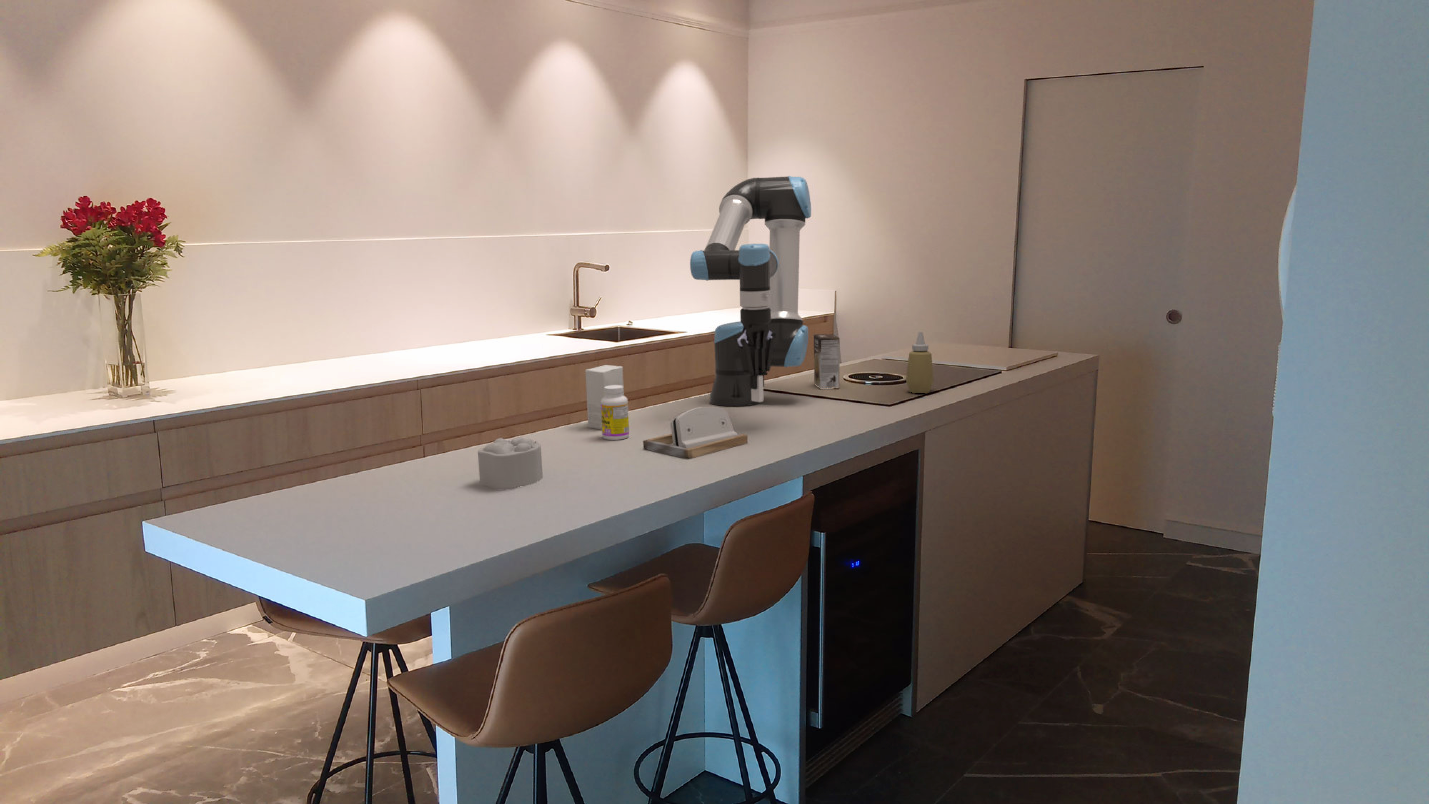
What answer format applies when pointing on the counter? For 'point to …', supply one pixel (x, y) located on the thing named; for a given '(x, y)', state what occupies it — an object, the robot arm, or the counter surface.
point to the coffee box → (826, 360)
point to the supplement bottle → (614, 413)
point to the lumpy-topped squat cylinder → (510, 463)
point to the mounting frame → (663, 446)
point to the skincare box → (600, 390)
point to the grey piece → (701, 427)
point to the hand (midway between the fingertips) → (757, 400)
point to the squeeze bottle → (919, 367)
